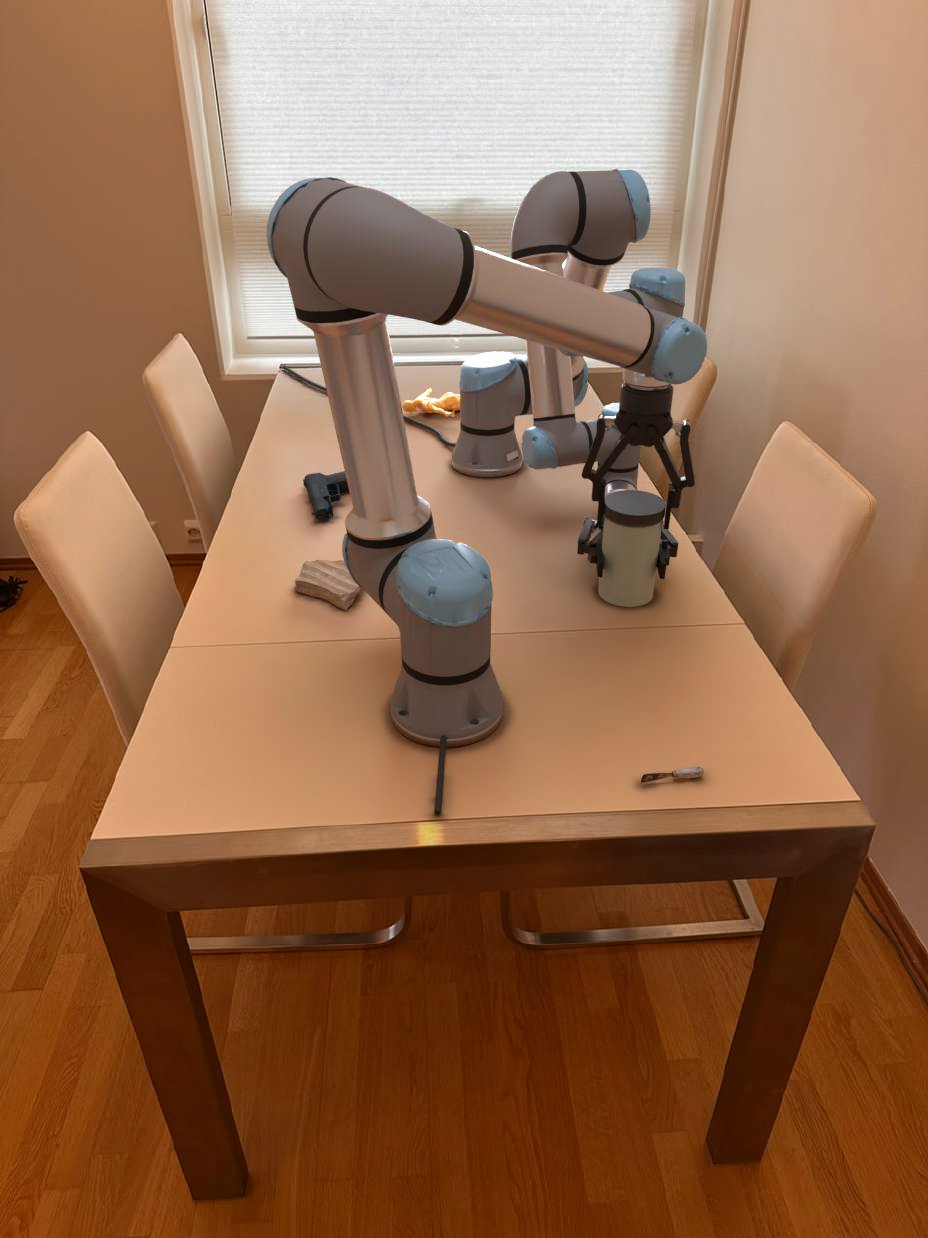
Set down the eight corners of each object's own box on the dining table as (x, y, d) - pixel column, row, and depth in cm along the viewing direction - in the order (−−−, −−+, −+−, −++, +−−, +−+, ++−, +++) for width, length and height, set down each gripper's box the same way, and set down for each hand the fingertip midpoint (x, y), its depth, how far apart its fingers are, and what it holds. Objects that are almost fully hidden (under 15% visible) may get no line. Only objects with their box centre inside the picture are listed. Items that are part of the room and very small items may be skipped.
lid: (672, 524, 137) (674, 513, 136) (612, 527, 136) (613, 517, 135) (654, 498, 145) (655, 488, 144) (596, 501, 144) (597, 491, 143)
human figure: (395, 413, 223) (394, 398, 221) (438, 390, 237) (438, 375, 235) (462, 429, 215) (462, 413, 213) (502, 404, 229) (503, 388, 227)
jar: (607, 609, 144) (615, 521, 135) (591, 582, 151) (598, 496, 143) (661, 604, 145) (672, 516, 136) (642, 577, 152) (652, 492, 144)
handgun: (374, 516, 173) (312, 524, 171) (359, 480, 188) (302, 487, 185) (373, 501, 172) (311, 508, 169) (358, 466, 186) (300, 472, 183)
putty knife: (703, 777, 109) (705, 767, 109) (642, 788, 108) (644, 777, 107) (700, 772, 110) (702, 762, 109) (639, 782, 109) (640, 771, 108)
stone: (382, 577, 152) (381, 564, 151) (347, 611, 143) (346, 598, 142) (316, 564, 157) (314, 551, 155) (279, 596, 147) (277, 583, 146)
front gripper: (567, 386, 128) (559, 526, 140) (727, 395, 124) (705, 539, 136) (573, 370, 134) (565, 506, 146) (726, 379, 130) (705, 518, 142)
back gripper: (679, 530, 161) (698, 593, 142) (558, 527, 162) (561, 589, 143) (684, 492, 157) (705, 551, 138) (560, 489, 158) (563, 547, 139)
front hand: (632, 522), depth 141 cm, fingers open, 10 cm apart
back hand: (631, 570), depth 141 cm, fingers closed on jar, 9 cm apart
